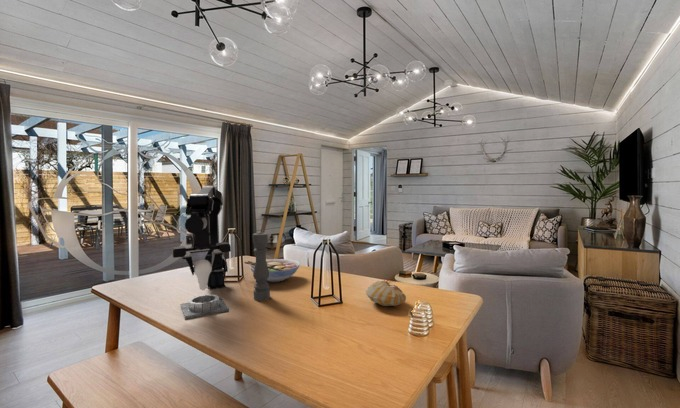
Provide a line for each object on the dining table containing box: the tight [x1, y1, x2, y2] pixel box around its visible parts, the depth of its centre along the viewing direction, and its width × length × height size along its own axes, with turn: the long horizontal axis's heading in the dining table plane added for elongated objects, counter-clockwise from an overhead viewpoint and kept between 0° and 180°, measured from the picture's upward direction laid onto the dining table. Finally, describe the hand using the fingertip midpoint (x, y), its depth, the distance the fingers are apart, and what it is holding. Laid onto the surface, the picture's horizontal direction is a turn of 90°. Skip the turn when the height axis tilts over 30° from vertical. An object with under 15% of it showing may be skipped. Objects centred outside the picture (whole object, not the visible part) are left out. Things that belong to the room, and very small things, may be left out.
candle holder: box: [252, 232, 271, 302], centre depth 132 cm, size 6×6×25 cm
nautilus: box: [365, 279, 407, 307], centre depth 126 cm, size 8×22×15 cm
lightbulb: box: [193, 258, 212, 291], centre depth 122 cm, size 6×6×11 cm
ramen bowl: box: [243, 258, 301, 283], centre depth 157 cm, size 25×23×8 cm
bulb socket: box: [180, 294, 230, 320], centre depth 122 cm, size 14×14×4 cm
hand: (202, 273), depth 122 cm, fingers closed on lightbulb, 6 cm apart
